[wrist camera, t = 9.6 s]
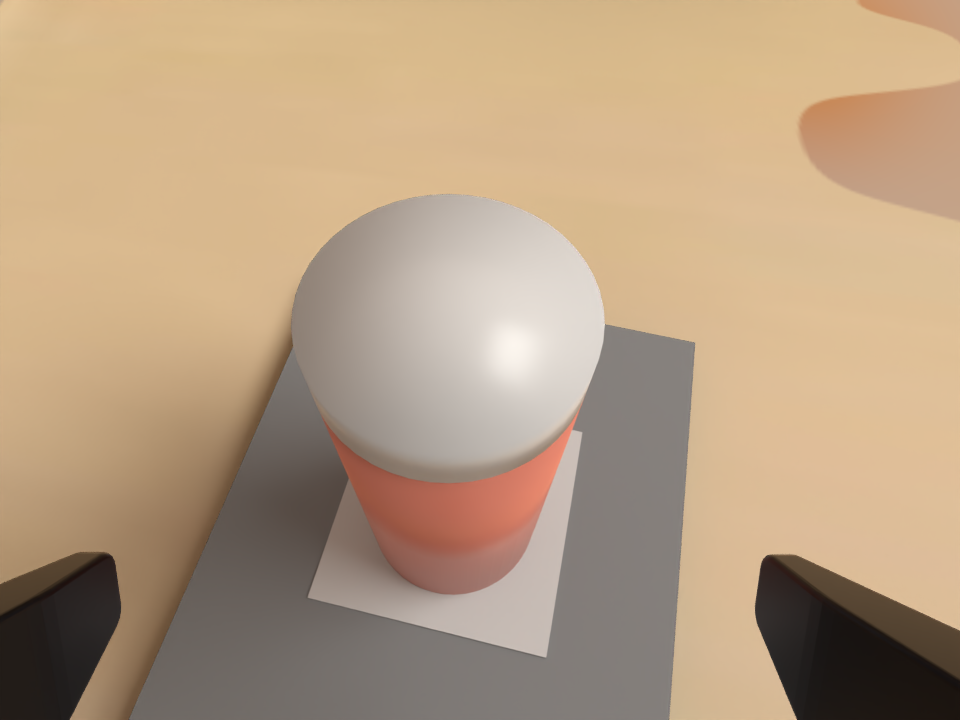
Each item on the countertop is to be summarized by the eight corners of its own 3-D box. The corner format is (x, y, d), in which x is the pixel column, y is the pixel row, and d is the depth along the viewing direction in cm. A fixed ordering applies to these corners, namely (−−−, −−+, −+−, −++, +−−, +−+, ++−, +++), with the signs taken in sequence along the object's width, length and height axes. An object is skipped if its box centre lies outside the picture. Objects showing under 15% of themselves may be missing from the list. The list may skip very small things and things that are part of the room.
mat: (646, 885, 16) (658, 895, 15) (134, 742, 17) (117, 743, 16) (686, 356, 24) (695, 341, 23) (332, 283, 25) (327, 266, 24)
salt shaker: (471, 631, 18) (484, 526, 9) (339, 527, 19) (222, 334, 10) (565, 493, 20) (660, 284, 11) (439, 408, 22) (424, 154, 12)
